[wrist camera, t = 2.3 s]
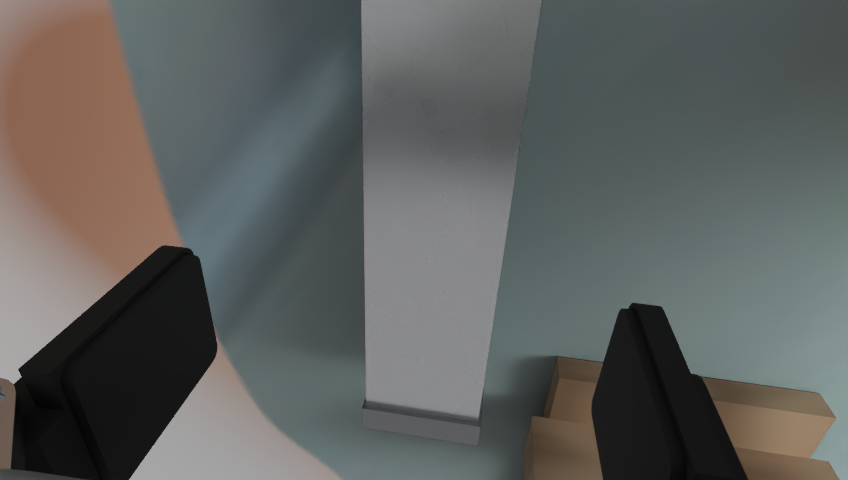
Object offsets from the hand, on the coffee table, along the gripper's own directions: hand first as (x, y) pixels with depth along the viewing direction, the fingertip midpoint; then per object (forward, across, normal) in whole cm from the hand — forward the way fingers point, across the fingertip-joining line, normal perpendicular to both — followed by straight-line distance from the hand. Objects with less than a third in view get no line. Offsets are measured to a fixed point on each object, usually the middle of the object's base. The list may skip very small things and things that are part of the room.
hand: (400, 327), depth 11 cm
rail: (+8, 0, 0) cm, 8 cm away
